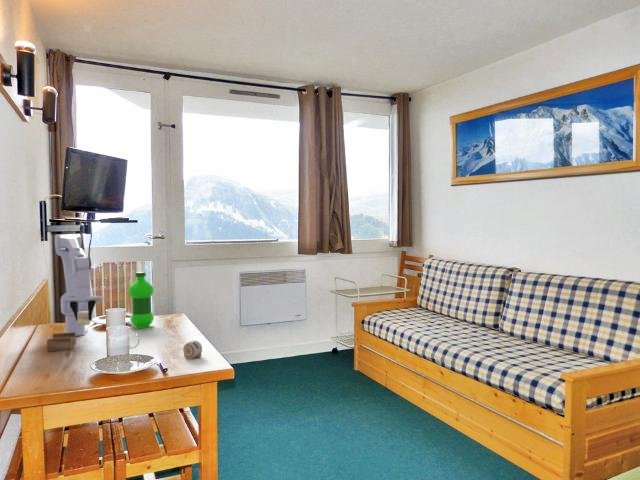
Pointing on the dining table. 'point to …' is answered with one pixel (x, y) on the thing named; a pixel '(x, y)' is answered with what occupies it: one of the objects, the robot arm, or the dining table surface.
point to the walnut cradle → (61, 341)
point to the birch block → (83, 318)
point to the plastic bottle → (141, 301)
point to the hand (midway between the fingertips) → (83, 319)
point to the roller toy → (192, 349)
